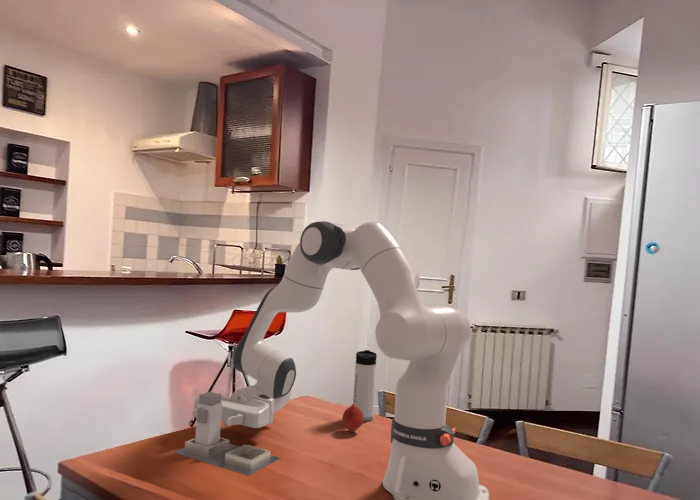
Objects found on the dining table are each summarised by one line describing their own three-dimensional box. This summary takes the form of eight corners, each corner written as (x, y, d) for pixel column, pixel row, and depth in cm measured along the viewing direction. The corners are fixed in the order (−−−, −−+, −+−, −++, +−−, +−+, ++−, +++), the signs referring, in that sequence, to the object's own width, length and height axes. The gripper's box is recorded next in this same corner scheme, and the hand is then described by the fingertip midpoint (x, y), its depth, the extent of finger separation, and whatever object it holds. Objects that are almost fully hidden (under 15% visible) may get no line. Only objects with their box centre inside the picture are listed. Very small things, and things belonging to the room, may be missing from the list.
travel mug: (373, 415, 164) (377, 350, 164) (372, 422, 158) (376, 354, 158) (353, 413, 165) (357, 349, 165) (351, 420, 158) (355, 353, 158)
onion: (338, 429, 150) (340, 400, 150) (356, 427, 152) (358, 399, 152) (346, 436, 144) (348, 406, 144) (365, 434, 147) (367, 405, 147)
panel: (280, 462, 124) (281, 449, 124) (248, 480, 114) (249, 466, 114) (207, 441, 134) (208, 429, 134) (172, 456, 124) (173, 443, 124)
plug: (219, 448, 128) (222, 394, 128) (205, 454, 123) (208, 398, 123) (206, 444, 129) (209, 391, 129) (192, 450, 125) (195, 395, 125)
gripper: (216, 386, 144) (178, 397, 132) (279, 400, 135) (244, 413, 122) (214, 409, 144) (176, 422, 132) (277, 425, 135) (242, 440, 122)
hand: (209, 418), depth 127 cm, fingers open, 8 cm apart
